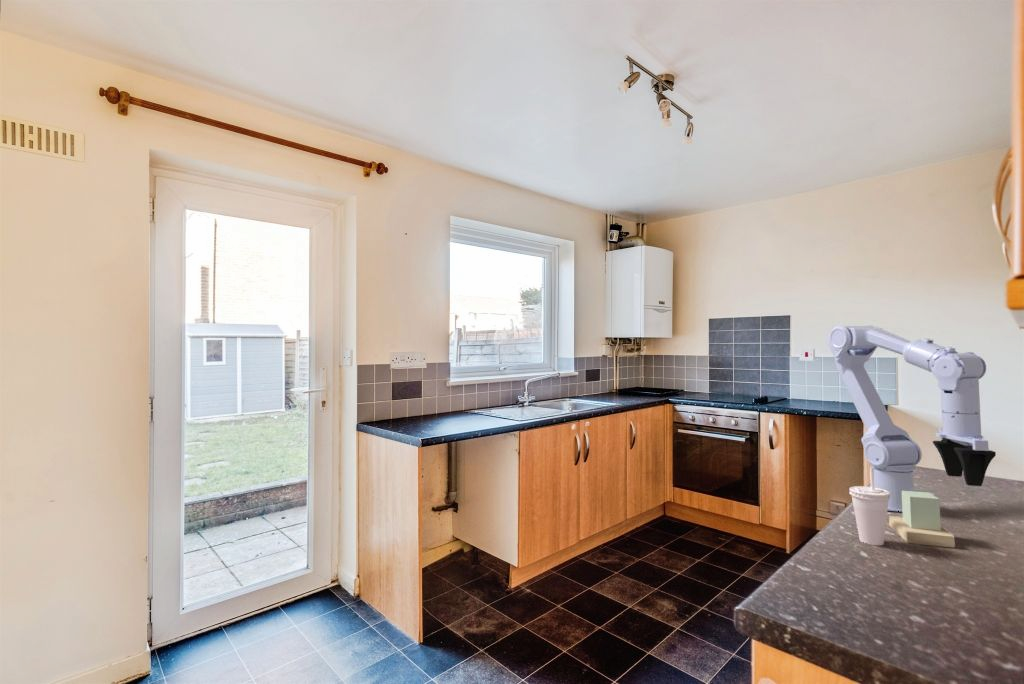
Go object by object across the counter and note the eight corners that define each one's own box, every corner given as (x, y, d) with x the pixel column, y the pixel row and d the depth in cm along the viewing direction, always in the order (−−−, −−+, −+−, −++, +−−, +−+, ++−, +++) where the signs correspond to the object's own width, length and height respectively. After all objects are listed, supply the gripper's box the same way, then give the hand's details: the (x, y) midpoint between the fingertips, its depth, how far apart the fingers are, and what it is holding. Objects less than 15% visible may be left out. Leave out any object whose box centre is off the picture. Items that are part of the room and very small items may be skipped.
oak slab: (889, 525, 100) (889, 515, 100) (931, 529, 98) (931, 519, 98) (907, 542, 91) (907, 532, 91) (954, 547, 88) (954, 536, 88)
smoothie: (900, 549, 88) (897, 471, 89) (861, 547, 90) (857, 470, 90) (881, 536, 94) (878, 464, 95) (844, 534, 96) (841, 463, 96)
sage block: (902, 520, 97) (901, 490, 98) (930, 523, 96) (929, 492, 96) (911, 528, 93) (909, 496, 93) (940, 530, 91) (939, 498, 92)
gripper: (920, 408, 106) (923, 471, 105) (953, 416, 92) (956, 488, 92) (961, 409, 103) (964, 473, 103) (1001, 417, 90) (1005, 491, 89)
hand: (963, 480), depth 97 cm, fingers open, 7 cm apart
